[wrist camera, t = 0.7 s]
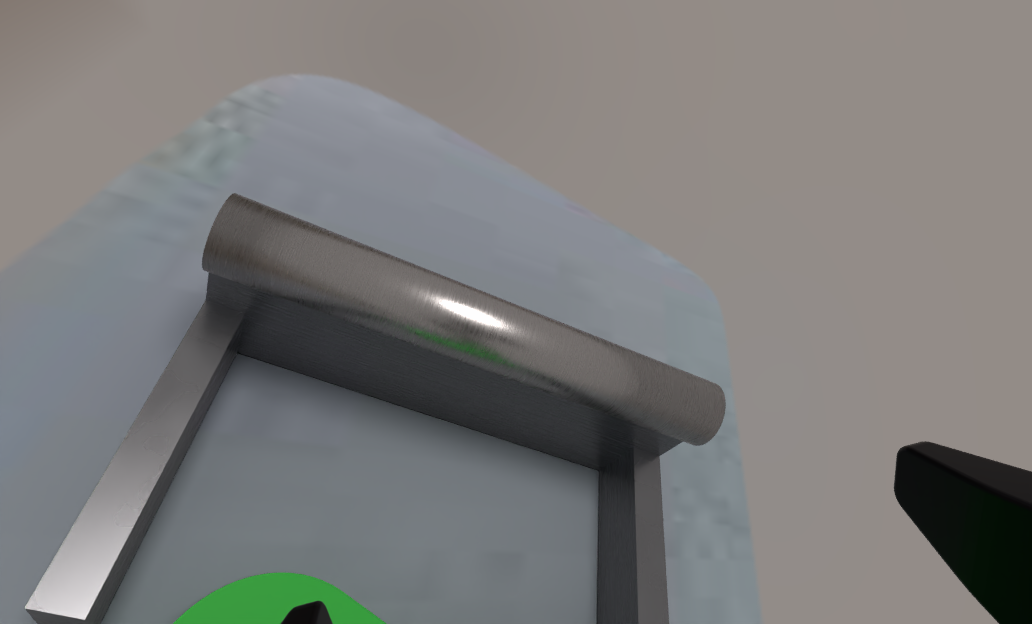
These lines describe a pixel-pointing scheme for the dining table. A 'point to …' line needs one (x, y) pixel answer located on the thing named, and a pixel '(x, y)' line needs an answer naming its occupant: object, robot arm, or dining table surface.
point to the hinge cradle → (396, 395)
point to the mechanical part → (274, 602)
